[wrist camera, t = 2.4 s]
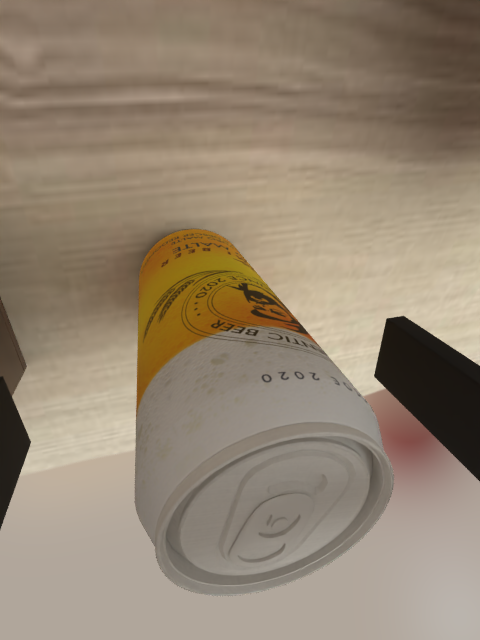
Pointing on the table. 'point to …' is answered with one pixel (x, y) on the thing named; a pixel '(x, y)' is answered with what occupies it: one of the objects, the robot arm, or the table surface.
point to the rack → (9, 353)
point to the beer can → (243, 429)
